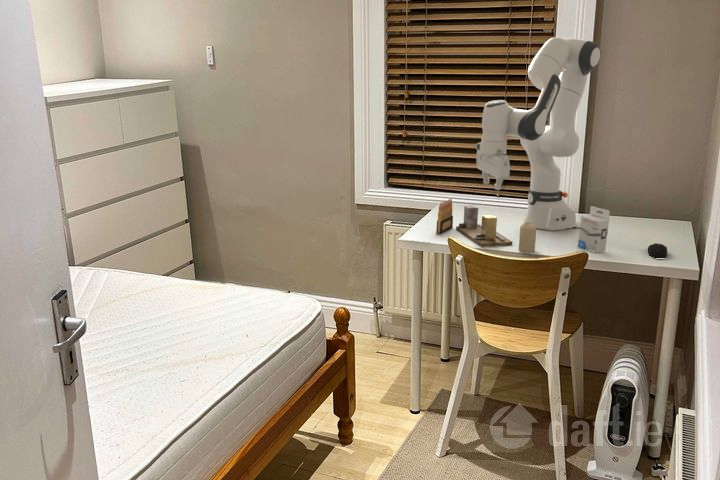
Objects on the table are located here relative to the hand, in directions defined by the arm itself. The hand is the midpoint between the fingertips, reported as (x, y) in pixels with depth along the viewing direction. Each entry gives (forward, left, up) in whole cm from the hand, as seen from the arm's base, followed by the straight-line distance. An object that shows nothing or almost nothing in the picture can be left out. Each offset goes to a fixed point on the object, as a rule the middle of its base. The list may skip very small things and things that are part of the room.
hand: (491, 186), depth 244 cm
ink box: (-32, +17, -21) cm, 41 cm away
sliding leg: (+1, 0, -19) cm, 19 cm away
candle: (-9, +13, -21) cm, 26 cm away
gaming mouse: (-50, +28, -21) cm, 61 cm away
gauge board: (-1, -6, -21) cm, 22 cm away
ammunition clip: (+10, -17, -21) cm, 29 cm away
